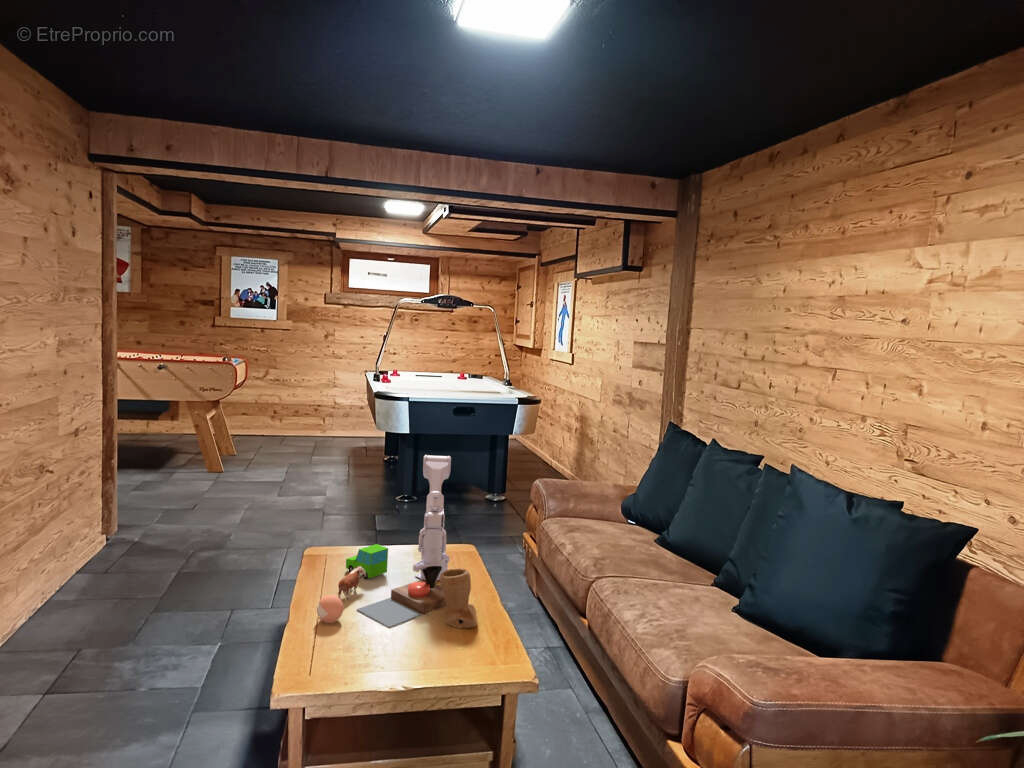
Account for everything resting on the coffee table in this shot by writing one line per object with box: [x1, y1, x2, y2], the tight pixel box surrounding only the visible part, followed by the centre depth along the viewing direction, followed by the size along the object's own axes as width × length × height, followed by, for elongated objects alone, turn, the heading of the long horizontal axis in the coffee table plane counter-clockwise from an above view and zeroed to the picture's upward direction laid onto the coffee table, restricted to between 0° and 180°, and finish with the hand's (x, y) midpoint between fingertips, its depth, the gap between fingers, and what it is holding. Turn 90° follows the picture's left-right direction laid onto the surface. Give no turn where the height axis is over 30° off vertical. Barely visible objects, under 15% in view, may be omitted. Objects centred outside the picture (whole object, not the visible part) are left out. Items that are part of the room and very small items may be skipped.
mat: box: [356, 597, 423, 629], centre depth 202 cm, size 13×16×1 cm
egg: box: [316, 594, 345, 624], centre depth 193 cm, size 8×8×8 cm
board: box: [390, 579, 447, 616], centre depth 213 cm, size 14×16×3 cm
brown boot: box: [440, 568, 478, 629], centre depth 200 cm, size 15×12×15 cm
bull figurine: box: [337, 566, 366, 600], centre depth 213 cm, size 4×13×8 cm, turn 161°
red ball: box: [408, 581, 430, 597], centre depth 211 cm, size 7×7×2 cm
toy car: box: [345, 543, 389, 580], centre depth 232 cm, size 10×13×10 cm
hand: (430, 587), depth 215 cm, fingers closed
